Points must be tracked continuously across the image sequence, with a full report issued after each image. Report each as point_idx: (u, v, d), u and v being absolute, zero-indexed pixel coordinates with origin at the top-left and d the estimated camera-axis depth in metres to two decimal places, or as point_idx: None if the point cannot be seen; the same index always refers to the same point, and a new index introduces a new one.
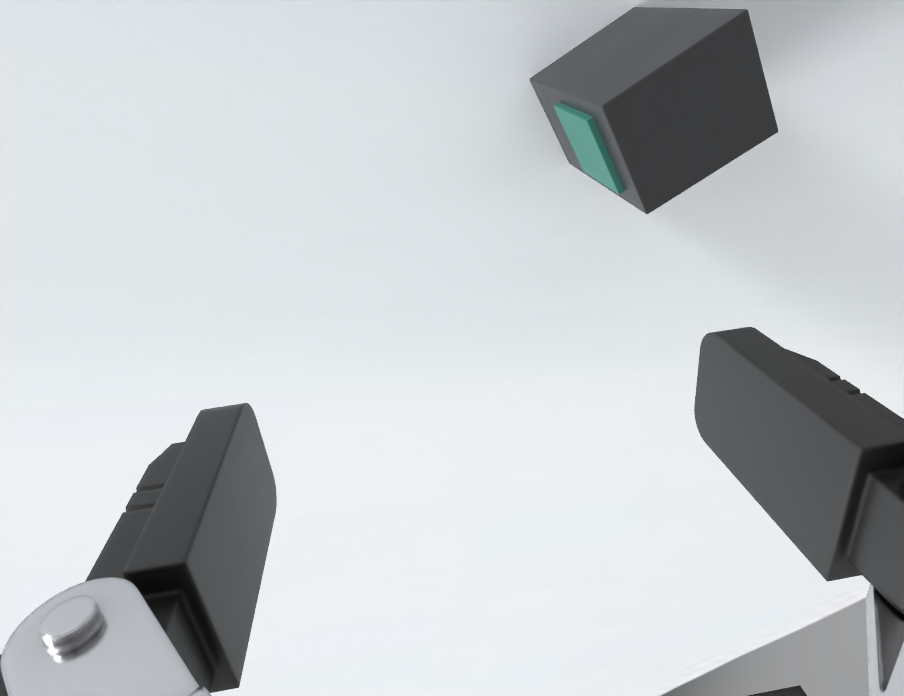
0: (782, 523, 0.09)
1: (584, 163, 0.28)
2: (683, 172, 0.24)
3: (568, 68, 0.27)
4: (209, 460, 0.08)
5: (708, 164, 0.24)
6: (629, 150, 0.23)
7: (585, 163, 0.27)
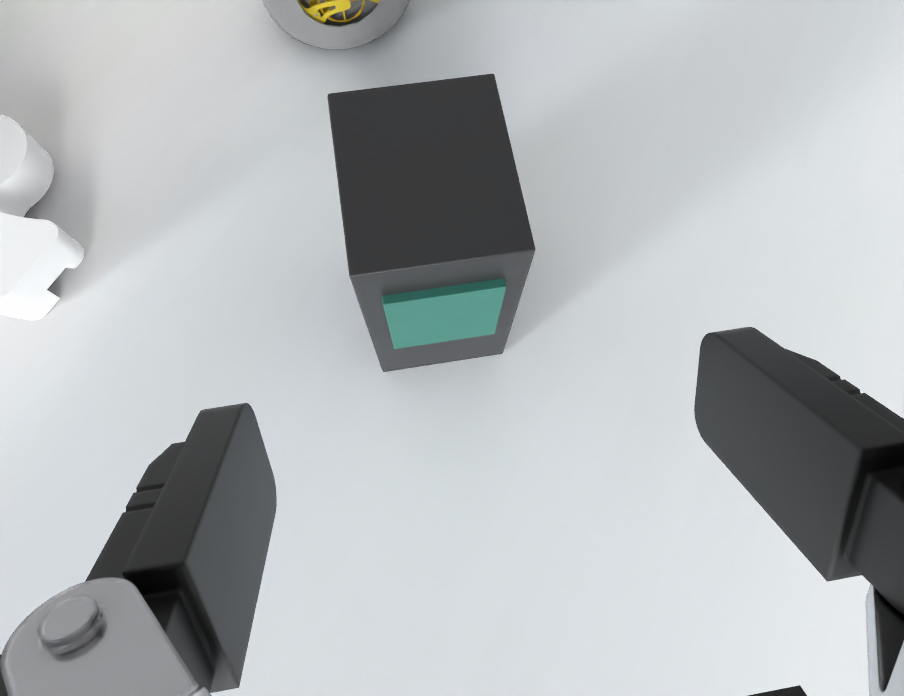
0: (782, 523, 0.09)
1: (476, 329, 0.20)
2: (493, 191, 0.16)
3: None
4: (209, 460, 0.08)
5: (497, 158, 0.17)
6: (427, 254, 0.16)
7: (475, 327, 0.20)
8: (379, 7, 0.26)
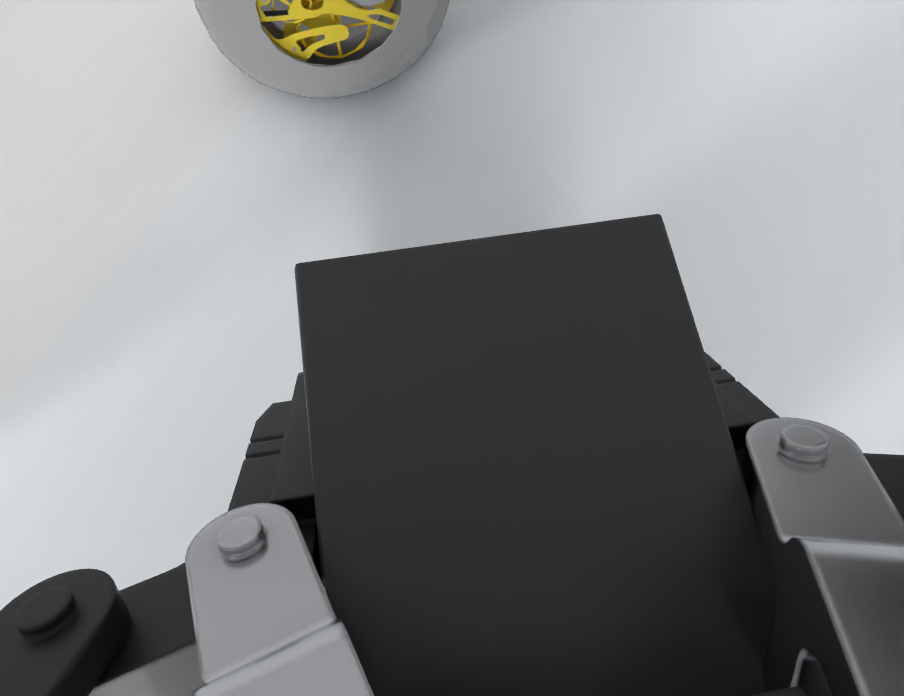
0: None
1: None
2: (693, 526, 0.07)
3: None
4: None
5: (692, 433, 0.07)
6: None
7: None
8: (395, 36, 0.16)
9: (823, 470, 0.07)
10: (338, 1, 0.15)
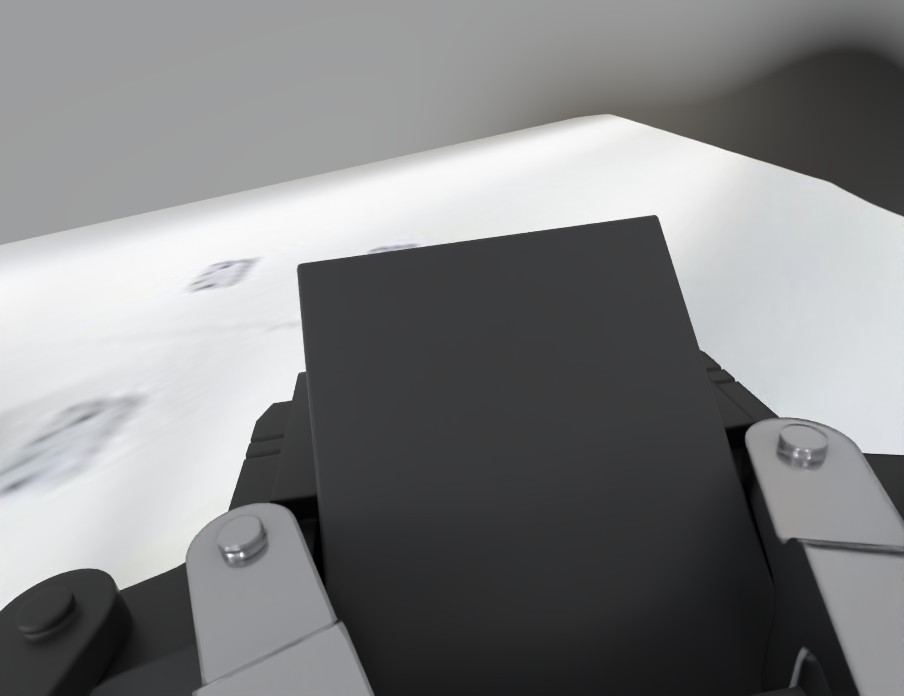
0: None
1: None
2: (689, 522, 0.07)
3: None
4: None
5: (688, 430, 0.07)
6: None
7: None
8: None
9: (822, 470, 0.07)
10: None
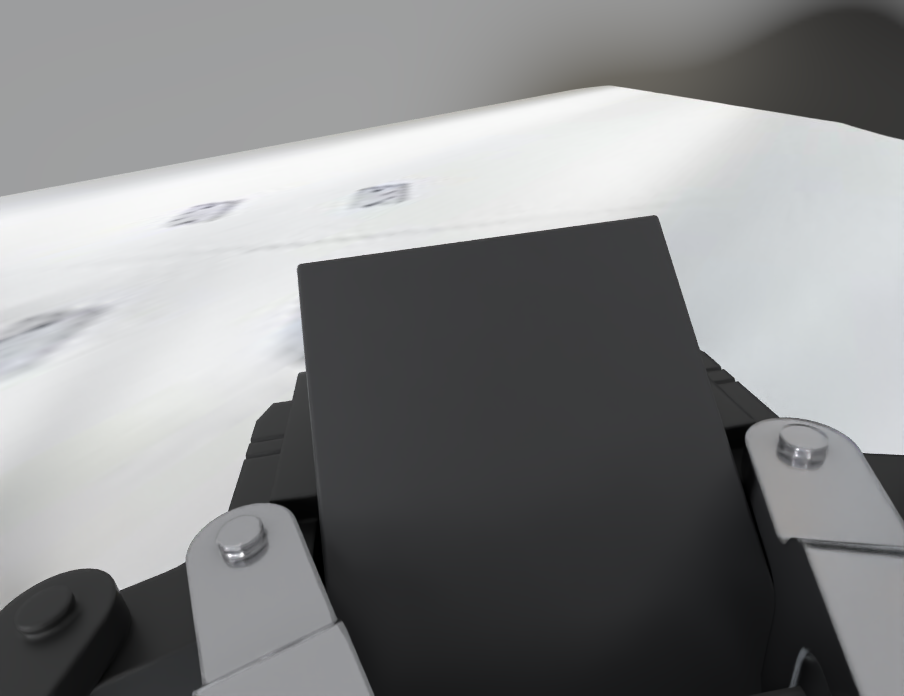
0: None
1: None
2: (689, 522, 0.07)
3: None
4: None
5: (689, 431, 0.07)
6: None
7: None
8: None
9: (823, 470, 0.07)
10: None
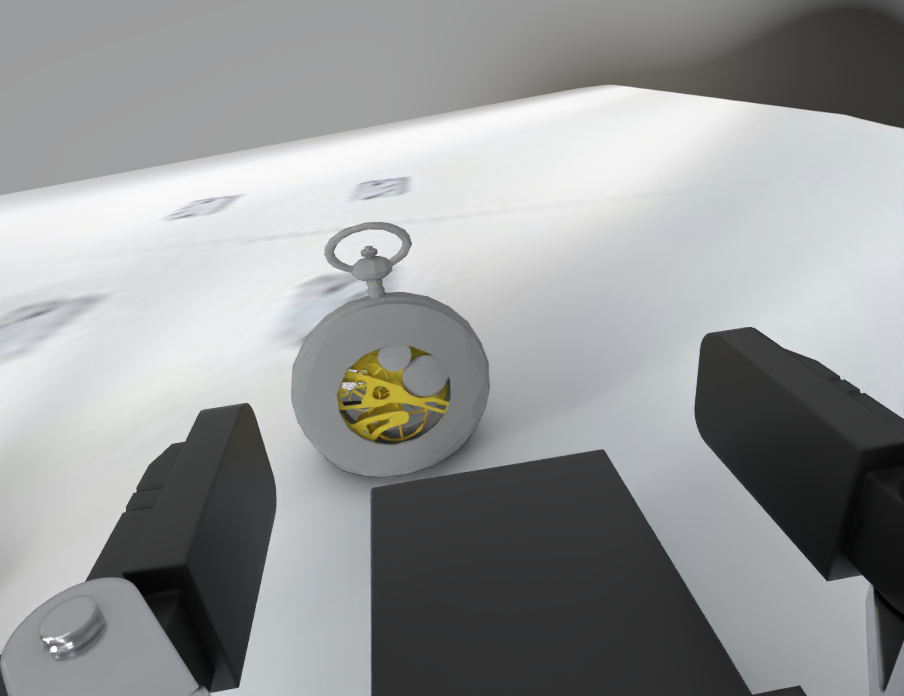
0: (782, 523, 0.09)
1: None
2: None
3: None
4: (209, 460, 0.08)
5: None
6: None
7: None
8: (446, 417, 0.20)
9: None
10: (401, 391, 0.19)
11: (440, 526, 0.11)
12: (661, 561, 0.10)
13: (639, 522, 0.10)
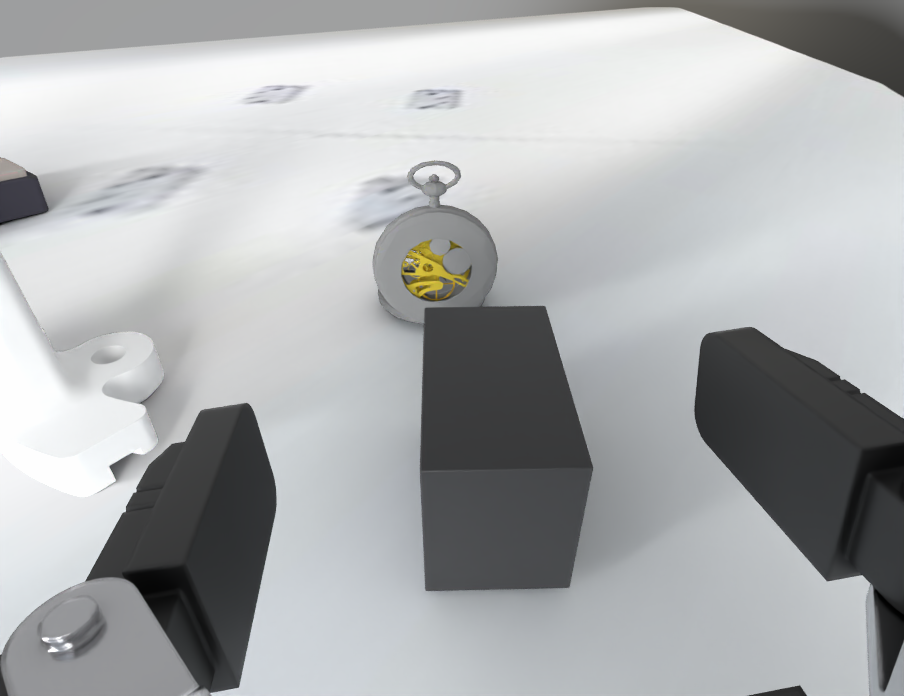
0: (782, 523, 0.09)
1: None
2: (553, 554, 0.19)
3: None
4: (209, 460, 0.08)
5: (565, 534, 0.19)
6: (487, 585, 0.20)
7: None
8: (466, 289, 0.32)
9: None
10: (440, 269, 0.31)
11: (457, 326, 0.23)
12: (553, 349, 0.22)
13: (550, 335, 0.22)
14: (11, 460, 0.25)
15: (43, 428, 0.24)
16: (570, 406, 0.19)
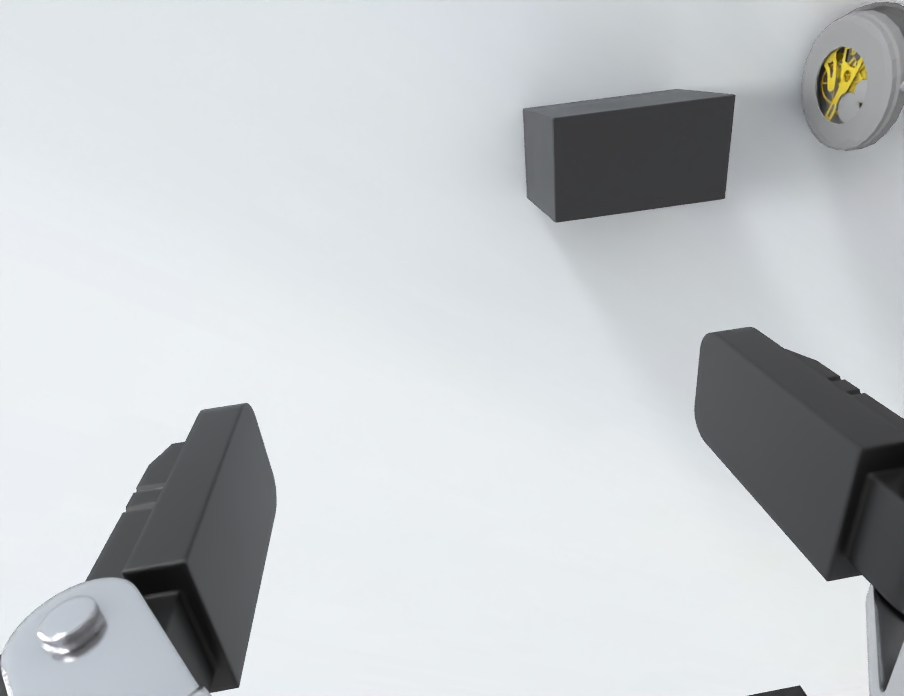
0: (782, 523, 0.09)
1: None
2: (534, 191, 0.33)
3: (645, 95, 0.32)
4: (209, 460, 0.08)
5: (539, 201, 0.32)
6: (525, 148, 0.33)
7: None
8: (820, 116, 0.32)
9: None
10: (843, 90, 0.31)
11: (703, 127, 0.28)
12: (666, 203, 0.30)
13: (683, 201, 0.30)
14: None
15: None
16: (606, 212, 0.30)
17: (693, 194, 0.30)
